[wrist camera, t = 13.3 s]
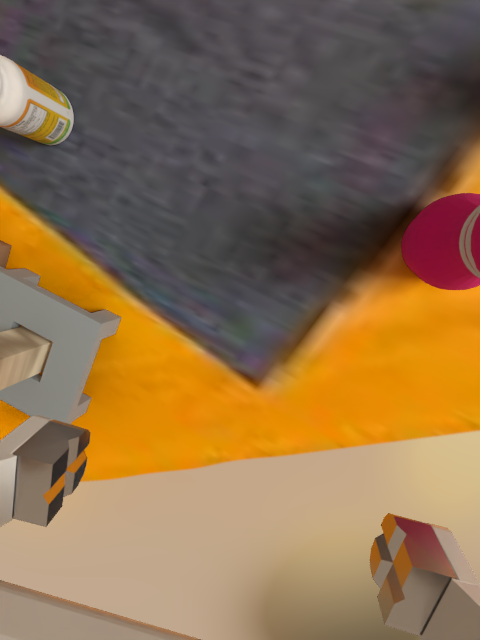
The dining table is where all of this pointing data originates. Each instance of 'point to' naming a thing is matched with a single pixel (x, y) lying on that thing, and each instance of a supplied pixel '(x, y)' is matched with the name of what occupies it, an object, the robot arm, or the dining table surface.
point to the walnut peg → (4, 253)
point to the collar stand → (66, 352)
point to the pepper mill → (446, 243)
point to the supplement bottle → (32, 105)
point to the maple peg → (21, 355)
